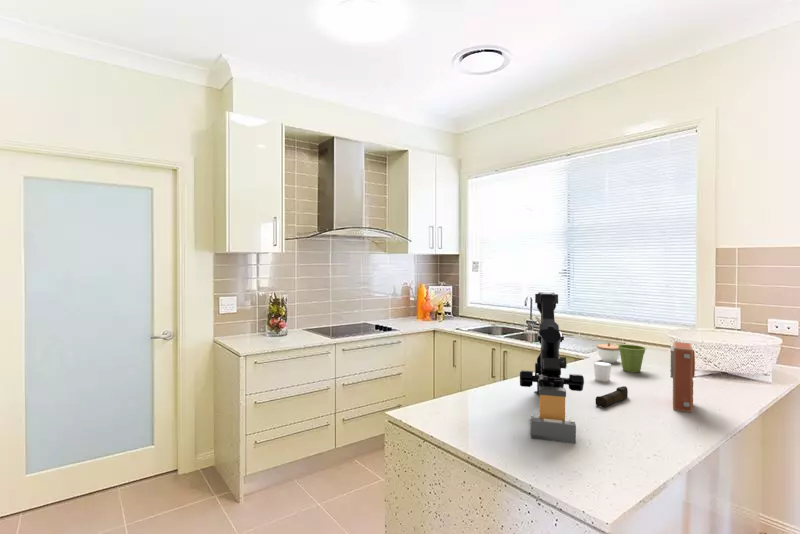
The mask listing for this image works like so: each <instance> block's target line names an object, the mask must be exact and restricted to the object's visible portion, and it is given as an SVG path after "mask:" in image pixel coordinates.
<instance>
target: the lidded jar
mask: <svg viewBox="0 0 800 534" xmlns="http://www.w3.org/2000/svg"><path fill="white" fill-rule="evenodd" d="M596 345H597V356H598V357H599V359H600V360H601V362H606V363H610V364H613V363H614V364H615V363H616V362H617V361H618V360H619V359H620V358H621V355H620V351H619V347H618V345H617V344H611V343H610V342H607V343H602V344H601V343H600V344H596Z"/></svg>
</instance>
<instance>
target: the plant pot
mask: <svg viewBox="0 0 800 534" xmlns="http://www.w3.org/2000/svg"><path fill="white" fill-rule="evenodd" d="M617 346H618V347H619V351H620V361H621V368H622V370H623V371H624V372H625V371H626V372H628V373H641V370H642V364H643V360H644V355H645V352H646V351H647V347H645V346H640V345H638V344H637V345H634V344H618V345H617Z"/></svg>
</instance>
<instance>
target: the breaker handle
mask: <svg viewBox="0 0 800 534" xmlns="http://www.w3.org/2000/svg"><path fill="white" fill-rule="evenodd" d="M538 396H539V416H540V418H542V419H553V420H562V421H565V415H566V397H567V390H566V388H565V387H564V388H558V387H545V386H539V395H538Z"/></svg>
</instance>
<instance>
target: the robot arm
mask: <svg viewBox="0 0 800 534" xmlns="http://www.w3.org/2000/svg"><path fill="white" fill-rule="evenodd" d="M537 292H538V293H535V295H534V303H535V304H536V308H537V311H538V312H539V313H540V323H539V328H538V330H537V334H536V336H537V337H536V338H537V342H539V344H540V353H539V355H538V356H537V358H536V362H534V371H532V370H523V369H522V370H521V371H520V372H519V386H520V387H524V388H531V387H532V386H533V384H534V383H536V384H537V385H536V387H537V388H536V390H535V391H533V393H534V394H535V395H538V396H540V395H539V386H545V387H558V388H565V387H564V386H565V385H568V388H569V390H570V391H572V392H573V391H575V392H582V391H584V384H585V377H584V376H583V375H582V374H578V373H577V374H576V373H569V375H568V377H561V375H562V369H564V370H566V369H567V363H568V362H567V357H565V356H560V348H561V346H560V345H561V343H562V342H563V341H565V337H564V335H563V333H562V331H560V327H559V324H558V323H557V322H556V321H555V309H556V308H557V305H558V304H559V294H558V293H557V294H556V293H555V291H537ZM533 372H534V373H533Z"/></svg>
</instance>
